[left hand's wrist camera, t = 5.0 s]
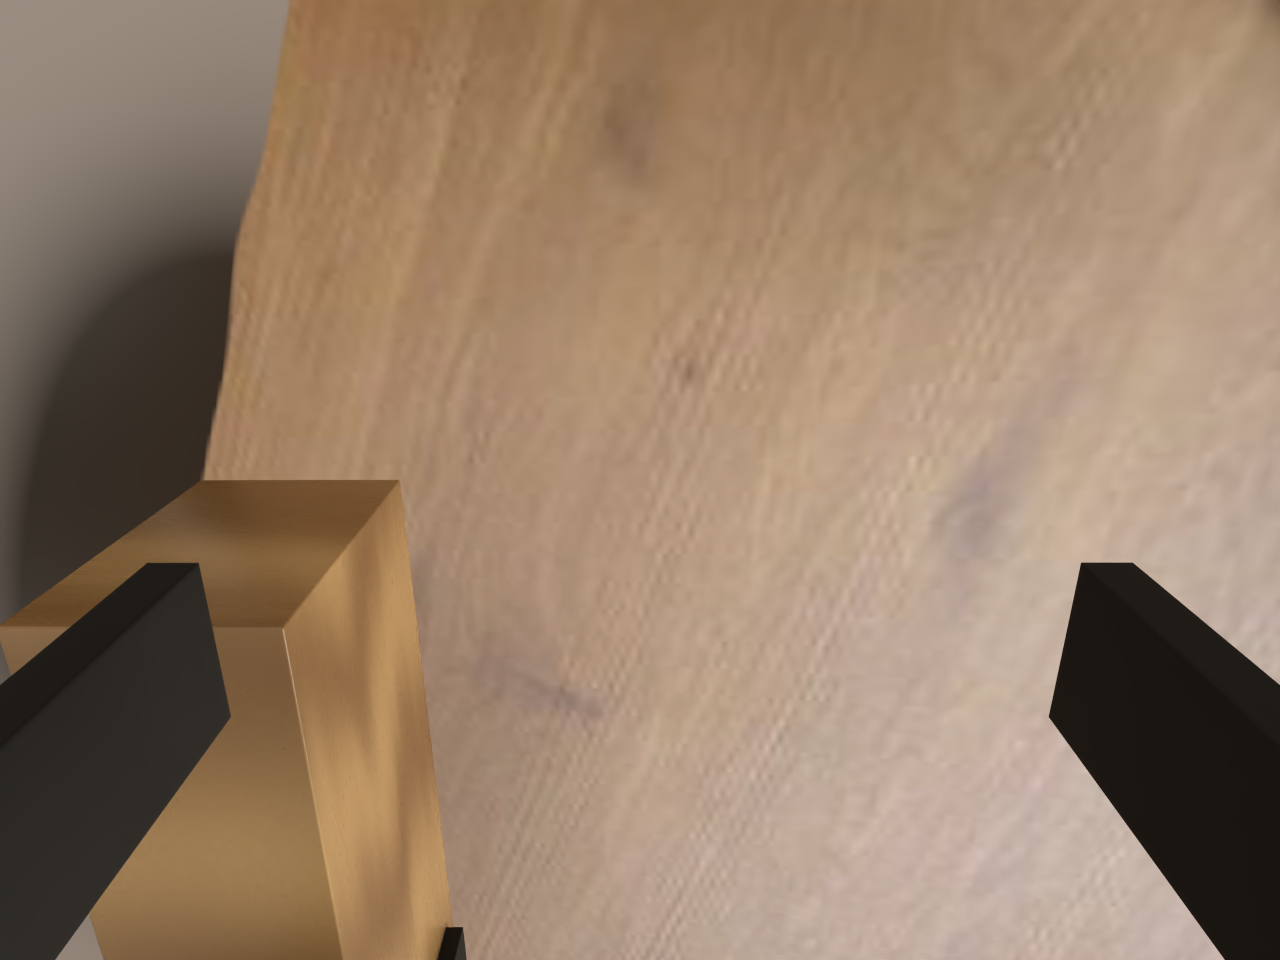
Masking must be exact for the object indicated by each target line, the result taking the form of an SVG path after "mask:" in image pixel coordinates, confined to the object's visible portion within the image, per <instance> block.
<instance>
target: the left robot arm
mask: <svg viewBox="0 0 1280 960" xmlns="http://www.w3.org/2000/svg"><path fill="white" fill-rule="evenodd" d="M230 718H231V714H230V709H229V704H228V700H227V695H226V690H225V685H224V681H223V676H222V671H221V666H220V661H219V657H218V652H217V647H216V642H215V638H214V633H213V628H212V623H211V619H210V614H209V609H208V604H207V600H206V595H205V590H204V585H203V581H202V576H201V571H200V566H199V563H146V564H145V565H144V566H143V567H142V568H140V569H139V570H138V571H137V572H136V573H134V574H133V575H132V576H131V577H130V578H128V579H127V580H126V581H125V582H124V583H122V584H121V585H120V586H119V587H118V588H116V589H115V590H114V591H113V592H112V593H110V594H109V595H108V596H107V597H106V598H104V599H103V600H102V601H101V602H100V603H98V604H97V605H96V606H95V607H93V608H92V609H91V610H90V611H89V612H87V613H86V614H85V615H84V616H83V617H81V618H80V619H79V620H78V621H77V622H75V623H74V624H73V625H72V626H71V627H69V628H68V629H67V630H66V631H65V632H63V633H62V634H61V635H60V636H59V637H57V638H56V639H55V640H54V641H53V642H51V643H50V644H49V645H48V646H47V647H45V648H44V649H43V650H42V651H41V652H39V653H38V654H37V655H36V656H35V657H33V658H32V659H31V660H30V661H29V662H27V663H26V664H25V665H24V666H23V667H21V668H20V669H19V670H18V671H17V672H15V673H14V674H13V675H12V676H11V677H9V678H8V679H7V680H6V681H5V682H3V683H2V684H1V685H0V960H55V959H56V958H57V956H58V955H59V954H60V952H61V951H62V949H63V948H64V947H65V945H66V944H67V943H68V941H69V940H70V939H71V937H72V936H73V934H74V933H75V932H76V930H77V929H78V927H79V926H80V925H81V923H82V922H83V921H84V919H85V918H86V916H87V915H88V914H89V912H90V911H91V910H92V908H93V907H94V905H95V904H96V903H97V901H98V900H99V899H100V897H101V896H102V894H103V893H104V892H105V890H106V889H107V887H108V886H109V885H110V883H111V882H112V881H113V879H114V878H115V876H116V875H117V874H118V872H119V871H120V870H121V868H122V867H123V865H124V864H125V863H126V861H127V860H128V858H129V857H130V856H131V854H132V853H133V852H134V850H135V849H136V847H137V846H138V845H139V843H140V842H141V841H142V839H143V838H144V836H145V835H146V834H147V832H148V831H149V830H150V828H151V827H152V825H153V824H154V823H155V821H156V820H157V818H158V817H159V816H160V814H161V813H162V812H163V810H164V809H165V807H166V806H167V805H168V803H169V802H170V801H171V799H172V798H173V796H174V795H175V794H176V792H177V791H178V789H179V788H180V787H181V785H182V784H183V783H184V781H185V780H186V778H187V777H188V776H189V774H190V773H191V772H192V770H193V769H194V767H195V766H196V765H197V763H198V762H199V761H200V759H201V758H202V756H203V755H204V754H205V752H206V751H207V749H208V748H209V747H210V745H211V744H212V743H213V741H214V740H215V738H216V737H217V736H218V734H219V733H220V732H221V730H222V729H223V727H224V726H225V725H226V723H227V722H228V720H229V719H230ZM1049 718H1050V719H1051V720H1052V722H1053V723H1054V725H1055V726H1056V727H1057V729H1058V730H1059V732H1060V733H1061V734H1062V736H1063V737H1064V738H1065V740H1066V741H1067V743H1068V744H1069V745H1070V747H1071V748H1072V749H1073V751H1074V752H1075V754H1076V755H1077V756H1078V758H1079V759H1080V761H1081V762H1082V763H1083V765H1084V766H1085V767H1086V769H1087V770H1088V772H1089V773H1090V774H1091V776H1092V777H1093V778H1094V780H1095V781H1096V783H1097V784H1098V785H1099V787H1100V788H1101V789H1102V791H1103V792H1104V794H1105V795H1106V796H1107V798H1108V799H1109V801H1110V802H1111V803H1112V805H1113V806H1114V807H1115V809H1116V810H1117V812H1118V813H1119V814H1120V816H1121V817H1122V818H1123V820H1124V821H1125V823H1126V824H1127V825H1128V827H1129V828H1130V830H1131V831H1132V832H1133V834H1134V835H1135V836H1136V838H1137V839H1138V841H1139V842H1140V843H1141V845H1142V846H1143V847H1144V849H1145V850H1146V852H1147V853H1148V854H1149V856H1150V857H1151V858H1152V860H1153V861H1154V863H1155V864H1156V865H1157V867H1158V868H1159V870H1160V871H1161V872H1162V874H1163V875H1164V876H1165V878H1166V879H1167V881H1168V882H1169V883H1170V885H1171V886H1172V887H1173V889H1174V890H1175V892H1176V893H1177V894H1178V896H1179V897H1180V899H1181V900H1182V901H1183V903H1184V904H1185V905H1186V907H1187V908H1188V910H1189V911H1190V912H1191V914H1192V915H1193V916H1194V918H1195V919H1196V921H1197V922H1198V923H1199V925H1200V926H1201V927H1202V929H1203V930H1204V932H1205V933H1206V934H1207V936H1208V937H1209V939H1210V940H1211V941H1212V943H1213V944H1214V945H1215V947H1216V948H1217V950H1218V951H1219V952H1220V954H1221V955H1222V956H1223V958H1224V959H1225V960H1280V685H1279V684H1278V683H1277V682H1275V681H1274V680H1273V679H1272V678H1271V677H1269V676H1268V675H1267V674H1266V673H1265V672H1263V671H1262V670H1261V669H1260V668H1259V667H1257V666H1256V665H1255V664H1254V663H1253V662H1251V661H1250V660H1249V659H1248V658H1247V657H1245V656H1244V655H1243V654H1242V653H1241V652H1239V651H1238V650H1237V649H1236V648H1235V647H1233V646H1232V645H1231V644H1230V643H1229V642H1227V641H1226V640H1225V639H1224V638H1223V637H1221V636H1220V635H1219V634H1218V633H1217V632H1215V631H1214V630H1213V629H1212V628H1211V627H1209V626H1208V625H1207V624H1206V623H1205V622H1203V621H1202V620H1201V619H1200V618H1199V617H1197V616H1196V615H1195V614H1194V613H1193V612H1191V611H1190V610H1189V609H1188V608H1187V607H1185V606H1184V605H1183V604H1182V603H1180V602H1179V601H1178V600H1177V599H1176V598H1174V597H1173V596H1172V595H1171V594H1170V593H1168V592H1167V591H1166V590H1165V589H1164V588H1162V587H1161V586H1160V585H1159V584H1158V583H1156V582H1155V581H1154V580H1153V579H1152V578H1150V577H1149V576H1148V575H1147V574H1146V573H1144V572H1143V571H1142V570H1141V569H1140V568H1138V567H1137V566H1136V565H1135V564H1134V563H1081V566H1080V571H1079V576H1078V581H1077V585H1076V590H1075V595H1074V600H1073V604H1072V609H1071V614H1070V619H1069V623H1068V628H1067V633H1066V638H1065V642H1064V647H1063V652H1062V657H1061V661H1060V666H1059V671H1058V676H1057V680H1056V685H1055V690H1054V695H1053V700H1052V704H1051V709H1050V714H1049Z"/></svg>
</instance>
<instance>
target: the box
mask: <svg viewBox="0 0 1280 960" xmlns="http://www.w3.org/2000/svg"><path fill="white" fill-rule="evenodd" d="M146 563H199V566H200V571H201V576H202V581H203V585H204V590H205V595H206V600H207V604H208V609H209V614H210V619H211V623H212V628H213V633H214V638H215V642H216V647H217V652H218V657H219V661H220V666H221V671H222V676H223V681H224V685H225V690H226V695H227V700H228V704H229V709H230V714H231V718H230V719H229V720H228V722H227V723H226V725H225V726H224V727H223V729H222V730H221V732H220V733H219V734H218V736H217V737H216V738H215V740H214V741H213V743H212V744H211V745H210V747H209V748H208V749H207V751H206V752H205V754H204V755H203V756H202V758H201V759H200V761H199V762H198V763H197V765H196V766H195V767H194V769H193V770H192V772H191V773H190V774H189V776H188V777H187V778H186V780H185V781H184V783H183V784H182V785H181V787H180V788H179V789H178V791H177V792H176V794H175V795H174V796H173V798H172V799H171V801H170V802H169V803H168V805H167V806H166V807H165V809H164V810H163V812H162V813H161V814H160V816H159V817H158V818H157V820H156V821H155V823H154V824H153V825H152V827H151V828H150V830H149V831H148V832H147V834H146V835H145V836H144V838H143V839H142V841H141V842H140V843H139V845H138V846H137V847H136V849H135V850H134V852H133V853H132V854H131V856H130V857H129V858H128V860H127V861H126V863H125V864H124V865H123V867H122V868H121V870H120V871H119V872H118V874H117V875H116V876H115V878H114V879H113V881H112V882H111V883H110V885H109V886H108V887H107V889H106V890H105V892H104V893H103V894H102V896H101V897H100V899H99V900H98V901H97V903H96V904H95V905H94V907H93V908H92V910H91V911H90V912H89V916H90V919H91V922H92V925H93V928H94V931H95V934H96V938H97V941H98V944H99V947H100V950H101V953H102V956H103V959H104V960H437V959H438V955H439V952H440V948H441V944H442V941H443V937H444V933H445V930H446V927H453V922H452V914H451V905H450V897H449V889H448V880H447V872H446V863H445V855H444V847H443V838H442V830H441V822H440V813H439V805H438V796H437V788H436V780H435V771H434V763H433V755H432V746H431V738H430V729H429V721H428V713H427V704H426V696H425V688H424V679H423V671H422V662H421V654H420V646H419V637H418V629H417V621H416V612H415V604H414V595H413V587H412V579H411V570H410V562H409V553H408V545H407V537H406V528H405V520H404V512H403V503H402V495H401V486H400V481H399V480H202V481H200V482H199V483H197V484H196V485H194V486H193V487H192V488H190V489H189V490H187V491H186V492H185V493H183V494H182V495H180V496H179V497H178V498H176V499H175V500H173V501H172V502H171V503H169V504H168V505H166V506H165V507H164V508H162V509H161V510H159V511H158V512H157V513H155V514H154V515H152V516H151V517H150V518H148V519H147V520H146V521H144V522H143V523H141V524H140V525H139V526H137V527H136V528H134V529H133V530H131V531H130V532H129V533H127V534H126V535H125V536H123V537H122V538H120V539H119V540H118V541H116V542H115V543H113V544H112V545H111V546H109V547H108V548H106V549H105V550H104V551H102V552H101V553H99V554H98V555H97V556H95V557H94V558H92V559H91V560H90V561H88V562H87V563H85V564H84V565H83V566H81V567H80V568H78V569H77V570H76V571H74V572H73V573H71V574H70V575H69V576H67V577H66V578H65V579H63V580H62V581H60V582H59V583H57V584H56V585H55V586H53V587H52V588H51V589H49V590H48V591H46V592H45V593H44V594H42V595H41V596H39V597H38V598H37V599H35V600H34V601H32V602H31V603H30V604H28V605H27V606H25V607H24V608H23V609H21V610H20V611H18V612H17V613H16V614H14V615H13V616H11V617H10V618H9V619H7V620H6V621H4V622H3V623H2V624H0V642H1V646H2V649H3V652H4V655H5V658H6V661H7V664H8V667H9V670H10V673H11V676H12V675H13V674H14V673H15V672H17V671H18V670H19V669H20V668H21V667H23V666H24V665H25V664H26V663H27V662H29V661H30V660H31V659H32V658H33V657H35V656H36V655H37V654H38V653H39V652H41V651H42V650H43V649H44V648H45V647H47V646H48V645H49V644H50V643H51V642H53V641H54V640H55V639H56V638H57V637H59V636H60V635H61V634H62V633H63V632H65V631H66V630H67V629H68V628H69V627H71V626H72V625H73V624H74V623H75V622H77V621H78V620H79V619H80V618H81V617H83V616H84V615H85V614H86V613H87V612H89V611H90V610H91V609H92V608H93V607H95V606H96V605H97V604H98V603H100V602H101V601H102V600H103V599H104V598H106V597H107V596H108V595H109V594H110V593H112V592H113V591H114V590H115V589H116V588H118V587H119V586H120V585H121V584H122V583H124V582H125V581H126V580H127V579H128V578H130V577H131V576H132V575H133V574H134V573H136V572H137V571H138V570H139V569H140V568H142V567H143V566H144V565H145V564H146Z"/></svg>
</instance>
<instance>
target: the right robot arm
mask: <svg viewBox="0 0 1280 960" xmlns="http://www.w3.org/2000/svg"><path fill="white" fill-rule="evenodd" d="M437 960H466V951H465V942H464V933H463V927H446V930H445V933H444V937H443V941H442V944H441V948H440V952H439V955H438V959H437Z"/></svg>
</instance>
